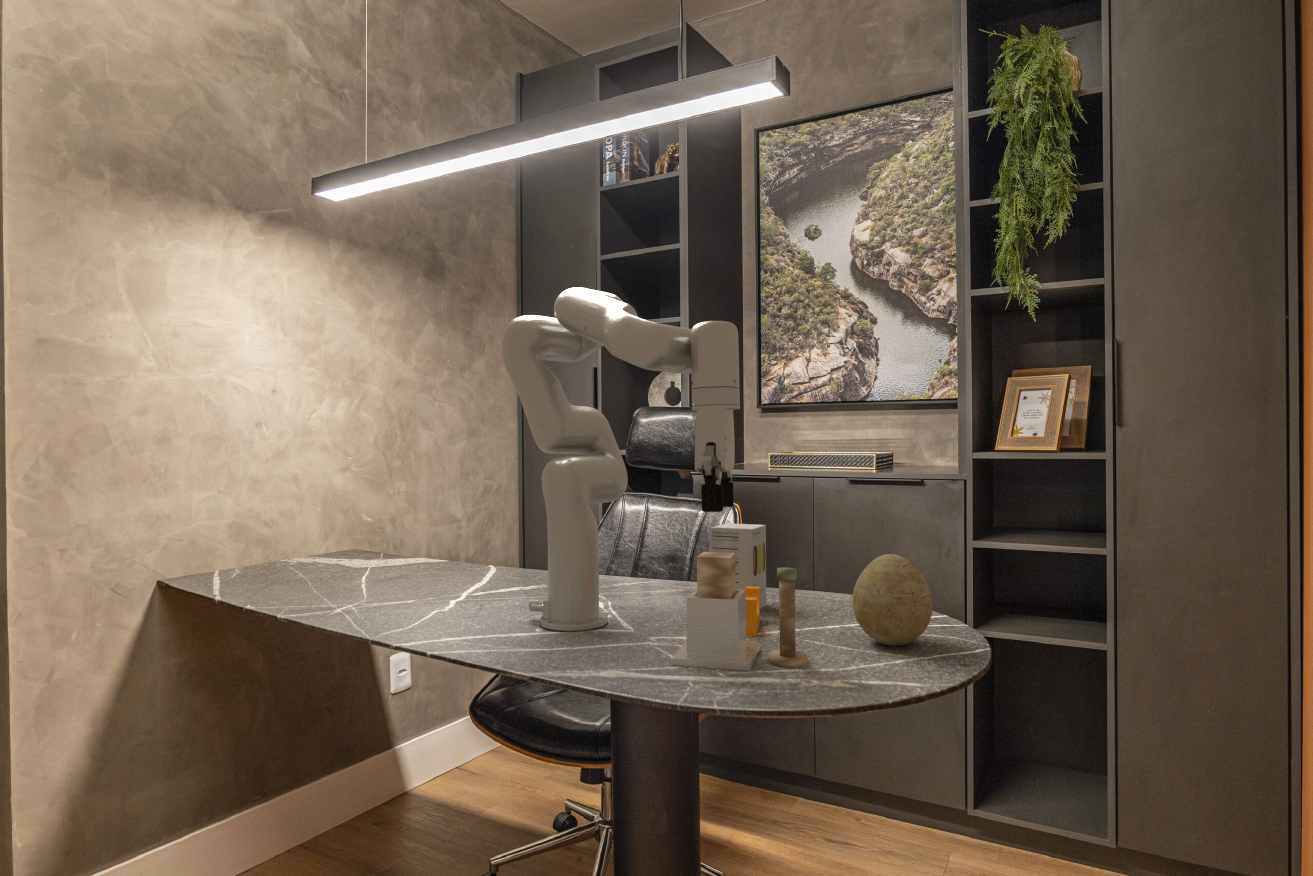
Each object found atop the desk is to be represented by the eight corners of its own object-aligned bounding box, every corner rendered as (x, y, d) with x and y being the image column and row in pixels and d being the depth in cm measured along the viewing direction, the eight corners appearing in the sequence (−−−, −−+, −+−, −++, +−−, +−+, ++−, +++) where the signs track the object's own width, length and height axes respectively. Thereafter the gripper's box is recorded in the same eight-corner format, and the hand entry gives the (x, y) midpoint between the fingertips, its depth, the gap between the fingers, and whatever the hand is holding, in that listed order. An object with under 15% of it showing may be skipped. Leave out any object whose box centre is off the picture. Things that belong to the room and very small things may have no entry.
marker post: (765, 666, 113) (765, 571, 113) (770, 655, 119) (769, 565, 119) (806, 668, 112) (805, 573, 112) (808, 657, 118) (808, 566, 118)
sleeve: (671, 665, 114) (670, 599, 114) (688, 644, 126) (687, 584, 126) (750, 671, 111) (749, 603, 111) (760, 649, 123) (759, 587, 123)
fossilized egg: (872, 630, 134) (872, 546, 134) (944, 642, 126) (943, 553, 126) (839, 645, 124) (838, 555, 124) (914, 660, 116) (914, 562, 116)
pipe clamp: (737, 619, 143) (736, 586, 143) (760, 620, 143) (759, 586, 143) (731, 636, 132) (731, 599, 132) (756, 637, 131) (755, 600, 131)
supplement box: (752, 615, 146) (752, 529, 146) (708, 611, 150) (708, 527, 150) (767, 605, 155) (766, 524, 155) (725, 601, 159) (724, 522, 159)
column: (696, 653, 116) (695, 556, 116) (703, 644, 122) (702, 551, 122) (731, 655, 115) (730, 558, 115) (737, 646, 120) (736, 552, 120)
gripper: (703, 404, 128) (705, 505, 127) (680, 398, 111) (682, 513, 111) (747, 402, 126) (749, 504, 125) (730, 396, 109) (733, 514, 109)
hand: (718, 509), depth 118 cm, fingers open, 9 cm apart
